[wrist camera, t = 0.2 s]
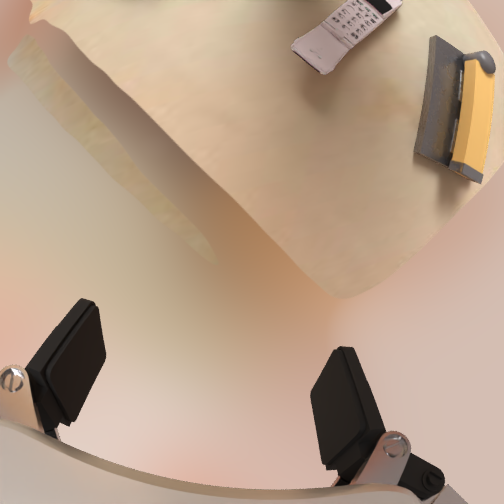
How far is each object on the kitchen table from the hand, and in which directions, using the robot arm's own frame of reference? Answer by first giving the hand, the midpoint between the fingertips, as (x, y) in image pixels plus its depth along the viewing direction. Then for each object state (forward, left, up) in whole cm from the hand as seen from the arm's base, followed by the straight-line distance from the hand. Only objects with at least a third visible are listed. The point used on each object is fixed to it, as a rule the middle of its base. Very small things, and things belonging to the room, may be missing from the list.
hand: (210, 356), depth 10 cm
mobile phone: (-30, +10, -31) cm, 44 cm away
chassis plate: (-24, +32, -31) cm, 50 cm away
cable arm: (-24, +33, -29) cm, 49 cm away
